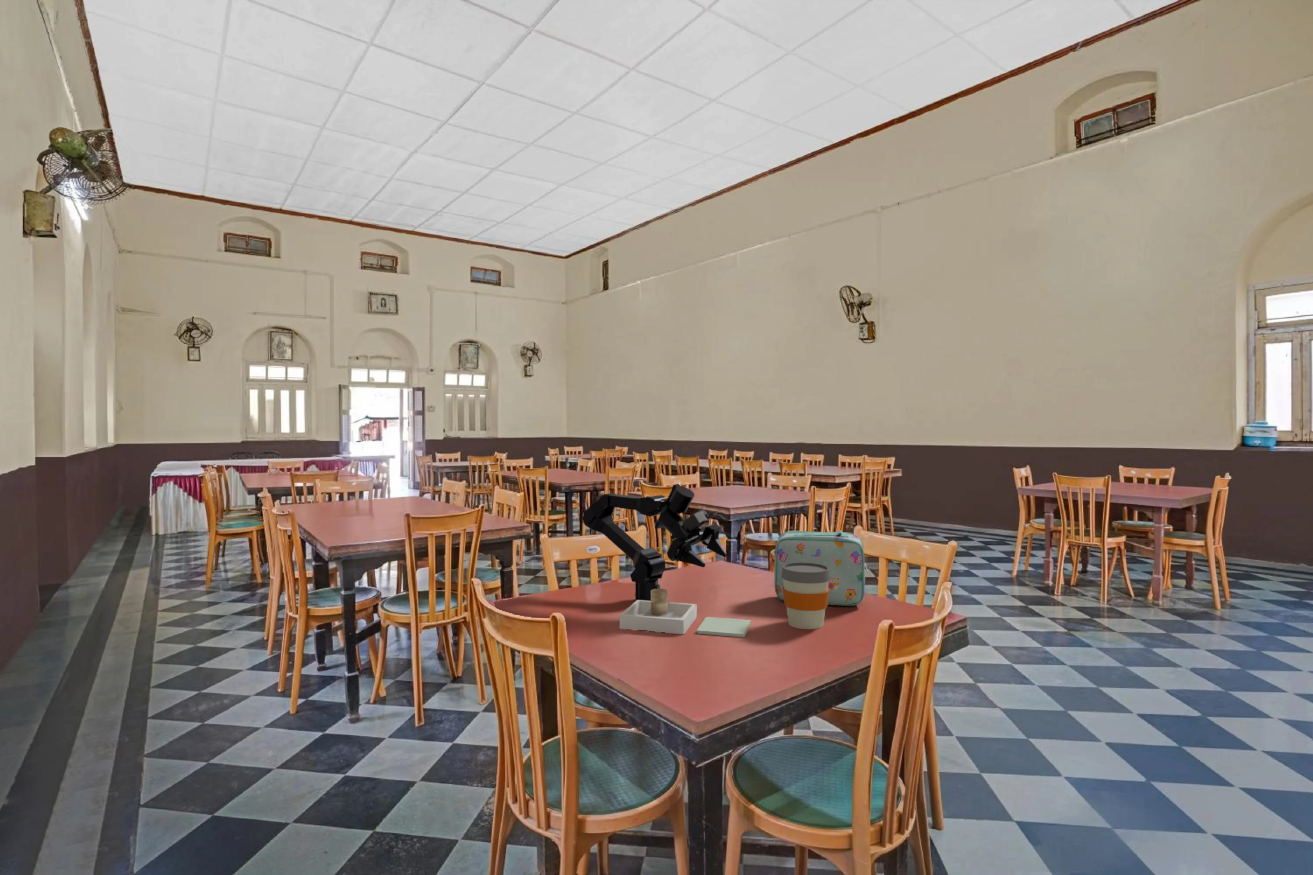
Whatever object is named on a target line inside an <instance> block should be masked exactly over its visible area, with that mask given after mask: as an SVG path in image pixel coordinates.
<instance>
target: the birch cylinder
mask: <svg viewBox="0 0 1313 875" xmlns="http://www.w3.org/2000/svg"><path fill="white" fill-rule="evenodd" d="M667 602H668V590H667V589H665V588H660V589H653V590H651V614H652V615H656V616H662V615H666V614H667V613H668V609H667Z"/></svg>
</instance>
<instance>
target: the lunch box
mask: <svg viewBox="0 0 1313 875" xmlns="http://www.w3.org/2000/svg"><path fill="white" fill-rule="evenodd" d="M864 550H865V549H864V545H863V541H862V539H861V538H860V537H859V536H858V535H857V534H854V533H851V532H847V531H846V532H845V531H844V532H843V530H837V531H829V532H828V531H827V532H826V531H805V530H788V531H785V532H783V533H781V534H780V535H779V537H778V539H777V541H776V544H775V549H774V579H773V580H774V592H775V595H776V596H777V597H778V598H779V599H780V600H782V601H784V596H783V586H784V584H783V578H782V577H781V576H782V567H783V565H785V564H788V563H796V562H807V563H817V564H822V565H825V566H828V567H829V570H830V580H829V584H828V589H829V597H828V605H827V606H829V605H830V606H842V607H843V606H846V607H849V606H850V607H851V606H852V607H853V606H858V605H859V604H860V603H861V602H863V600H864V597H865V586H866V584H865V582H866V581H865V580H866V572H869V569H868V567H867V564H866V563H865V551H864Z"/></svg>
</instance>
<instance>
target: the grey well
mask: <svg viewBox="0 0 1313 875" xmlns="http://www.w3.org/2000/svg"><path fill="white" fill-rule="evenodd" d="M697 606H698V605H697V603H686V602H671V601H667V609H668V613H667V614H666V615H662V616H656V615H652V614H651V601H645V600H637V601H635V602H634V601H633V602H632V604H631V605H630V606H629V607H626V609H625V610H624V611H622V612H621V613H620V614H619V629H620V628H621V629H620V630H626V629H637V630H649V631H655V632H654V633H661V632H665V633H664V634H674V635H684V634H685V633H686V632H687V631H688V629H689V628H690V627H691V626H692V624H693V623H694V622H695V620H696V619H697V618H698V612H697V611H698V610H697V608H698V607H697ZM690 625H691V626H690ZM637 630H636V631H637ZM649 631H648V632H649Z"/></svg>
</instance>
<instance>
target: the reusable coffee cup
mask: <svg viewBox="0 0 1313 875" xmlns="http://www.w3.org/2000/svg"><path fill="white" fill-rule="evenodd" d="M781 577H782V578H783V584H784V586H783V596H784V600H783V601H784V602H783V603H784V606H785V607H786V614H787V620H788V622H787V623H788V625H789V626H790V627H793V628H796V629H801V630H818V629H821V628H823V627H824V624H825V623H824V622H825V614H826V609H827V608H828V606H829V605H828V597H829V589H828V584H829V580H830V570H829V567H828V566H825V565H822V564H817V563H807V562H796V563H788V564H785V565H783V567H782V576H781Z"/></svg>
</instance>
